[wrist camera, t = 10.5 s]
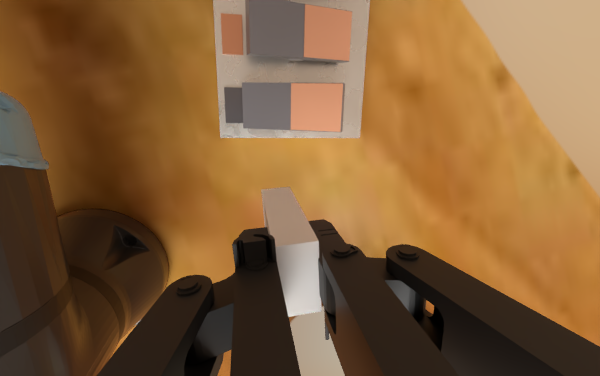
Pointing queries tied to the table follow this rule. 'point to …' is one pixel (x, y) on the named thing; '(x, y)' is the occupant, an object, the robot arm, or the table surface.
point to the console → (285, 70)
